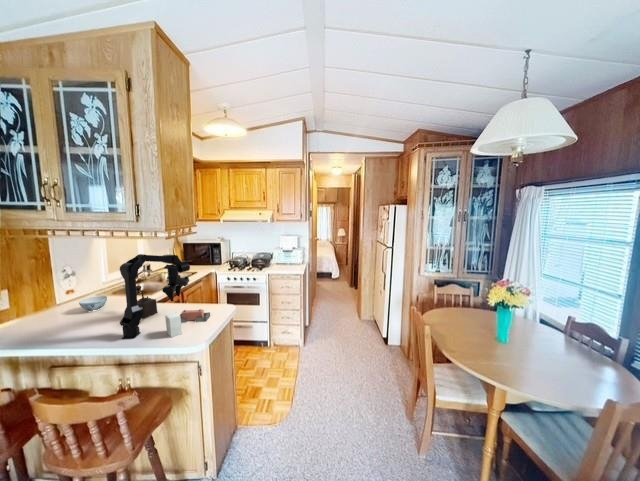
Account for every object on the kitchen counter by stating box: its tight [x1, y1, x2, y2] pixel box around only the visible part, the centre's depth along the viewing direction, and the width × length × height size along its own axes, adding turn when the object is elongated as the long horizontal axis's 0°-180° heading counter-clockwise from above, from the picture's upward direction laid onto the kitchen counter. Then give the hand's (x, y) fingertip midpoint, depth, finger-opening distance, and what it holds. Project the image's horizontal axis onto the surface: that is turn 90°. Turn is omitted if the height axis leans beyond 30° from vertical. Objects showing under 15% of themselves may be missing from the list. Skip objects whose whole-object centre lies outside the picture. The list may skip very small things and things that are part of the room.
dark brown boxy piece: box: [136, 285, 158, 320], centre depth 176 cm, size 16×11×18 cm
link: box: [180, 308, 205, 322], centre depth 166 cm, size 12×4×6 cm, turn 95°
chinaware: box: [78, 295, 108, 312], centre depth 186 cm, size 15×15×8 cm
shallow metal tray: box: [179, 312, 211, 324], centre depth 167 cm, size 18×8×2 cm, turn 96°
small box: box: [164, 312, 183, 338], centre depth 148 cm, size 8×6×10 cm
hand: (175, 298), depth 170 cm, fingers open, 9 cm apart
